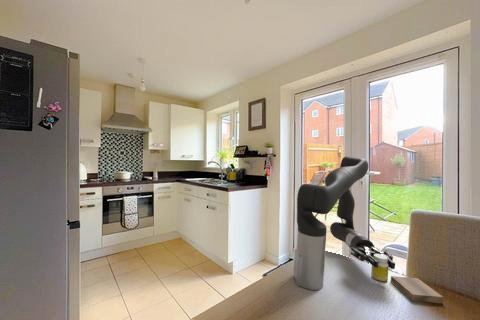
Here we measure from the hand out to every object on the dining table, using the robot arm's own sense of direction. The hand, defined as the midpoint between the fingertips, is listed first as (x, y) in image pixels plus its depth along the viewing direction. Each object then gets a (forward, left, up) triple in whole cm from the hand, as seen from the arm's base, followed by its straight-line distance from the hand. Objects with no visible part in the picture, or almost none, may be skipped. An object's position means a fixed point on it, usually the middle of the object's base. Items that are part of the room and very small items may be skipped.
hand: (385, 265), depth 70 cm
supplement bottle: (0, +3, -7) cm, 7 cm away
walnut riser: (+10, 0, -8) cm, 13 cm away
